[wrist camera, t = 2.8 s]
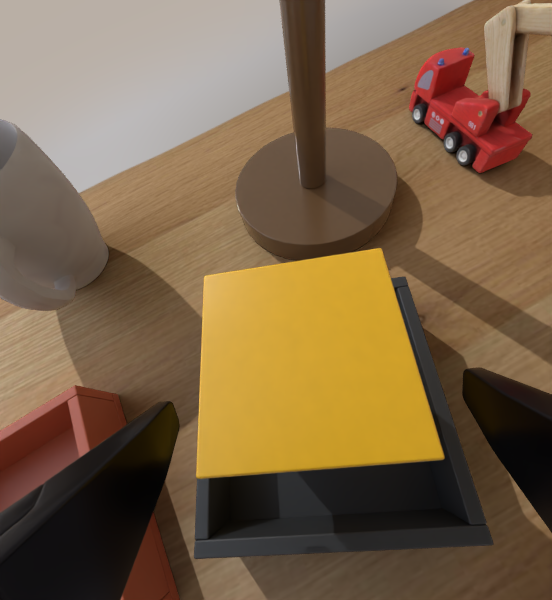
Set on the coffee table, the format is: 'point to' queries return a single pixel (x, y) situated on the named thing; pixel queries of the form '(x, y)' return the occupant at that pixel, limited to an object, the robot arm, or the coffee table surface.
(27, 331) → the coffee table surface
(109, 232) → the coffee table surface
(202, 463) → the yellow box
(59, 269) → the mug
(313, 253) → the tall lamp
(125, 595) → the bin left
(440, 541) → the bin right
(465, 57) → the toy fire truck
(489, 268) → the coffee table surface
